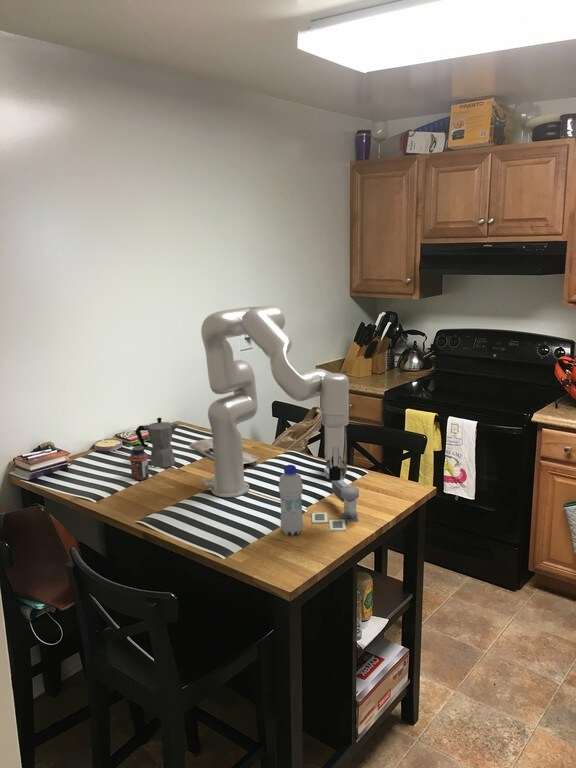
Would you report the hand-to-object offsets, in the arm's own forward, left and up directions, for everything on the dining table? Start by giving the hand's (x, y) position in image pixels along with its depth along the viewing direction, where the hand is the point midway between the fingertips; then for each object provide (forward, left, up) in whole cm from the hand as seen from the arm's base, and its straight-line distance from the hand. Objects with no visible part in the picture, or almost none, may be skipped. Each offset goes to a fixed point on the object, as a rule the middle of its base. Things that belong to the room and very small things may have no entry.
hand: (334, 479), depth 177 cm
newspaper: (-39, +59, -15) cm, 72 cm away
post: (+5, +4, -14) cm, 15 cm away
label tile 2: (+1, -1, -14) cm, 14 cm away
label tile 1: (-4, +4, -14) cm, 15 cm away
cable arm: (+2, +11, -11) cm, 15 cm away
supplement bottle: (-66, +38, -14) cm, 78 cm away
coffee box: (+3, +38, -14) cm, 40 cm away
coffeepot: (-62, +51, -14) cm, 82 cm away
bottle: (-13, -4, -14) cm, 19 cm away
